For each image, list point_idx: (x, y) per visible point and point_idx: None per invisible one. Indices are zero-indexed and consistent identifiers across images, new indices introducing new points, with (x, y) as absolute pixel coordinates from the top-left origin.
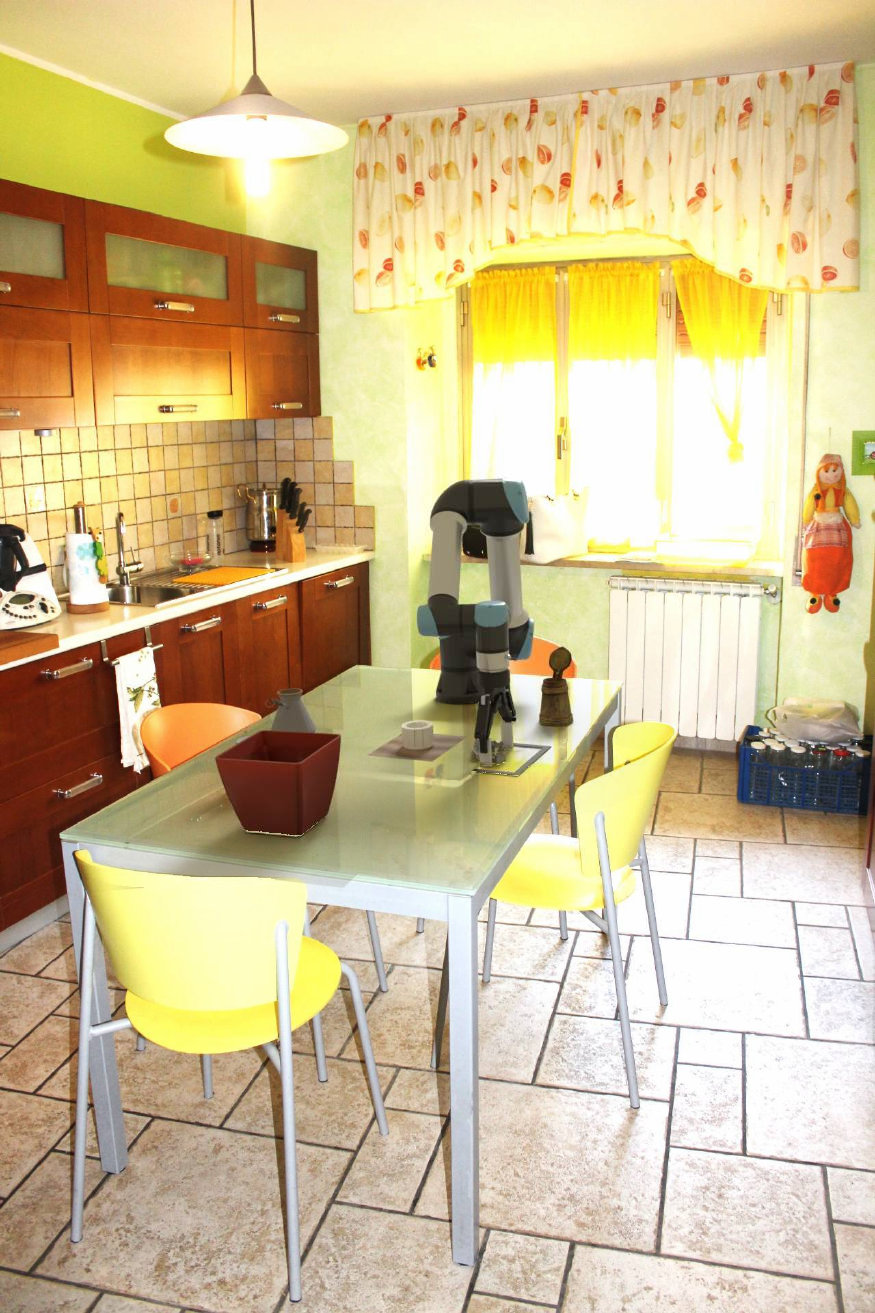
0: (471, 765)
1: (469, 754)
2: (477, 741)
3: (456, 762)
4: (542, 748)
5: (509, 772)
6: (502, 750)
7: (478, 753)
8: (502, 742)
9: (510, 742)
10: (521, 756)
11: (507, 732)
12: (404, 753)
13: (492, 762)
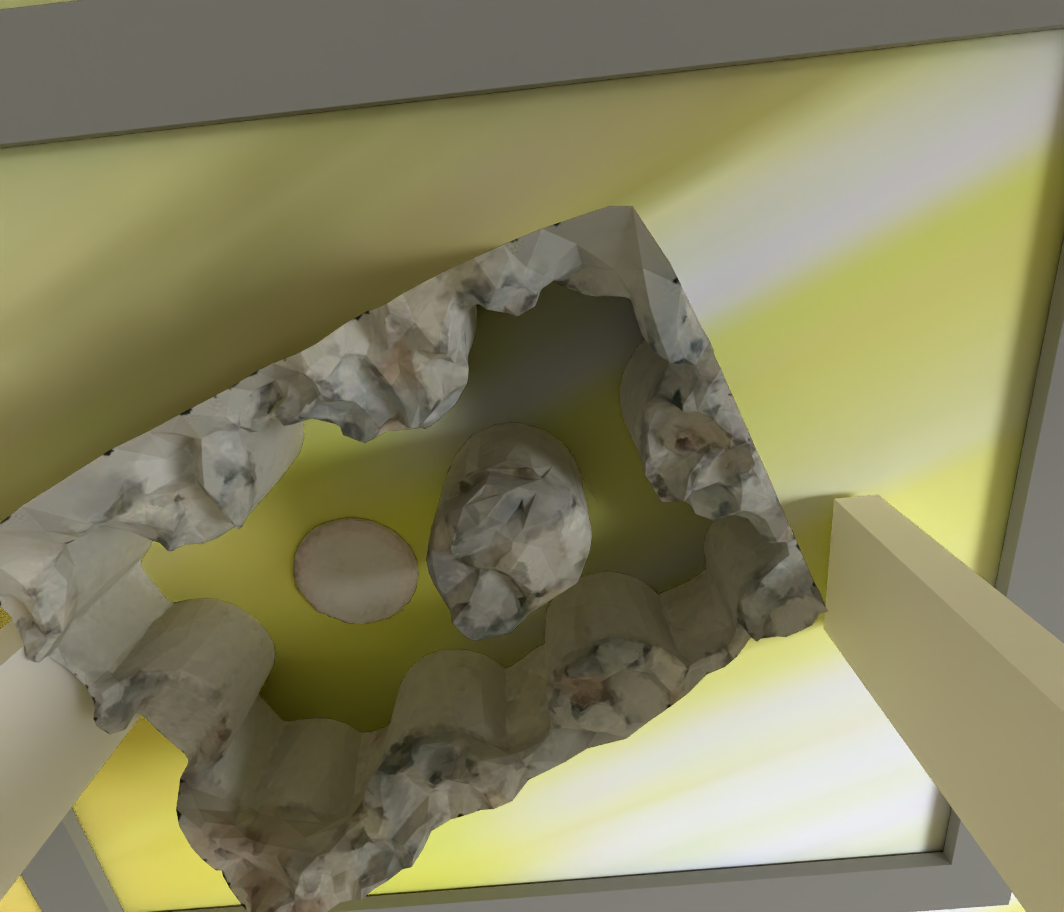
0: (57, 442)
1: (461, 151)
2: (614, 258)
3: (15, 159)
4: (916, 871)
5: (90, 900)
6: (282, 873)
7: (142, 533)
8: (801, 615)
9: (873, 676)
10: (637, 780)
11: (980, 773)
12: None
13: (265, 643)
